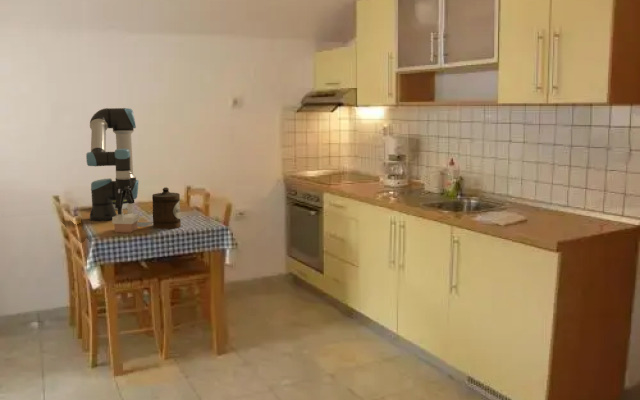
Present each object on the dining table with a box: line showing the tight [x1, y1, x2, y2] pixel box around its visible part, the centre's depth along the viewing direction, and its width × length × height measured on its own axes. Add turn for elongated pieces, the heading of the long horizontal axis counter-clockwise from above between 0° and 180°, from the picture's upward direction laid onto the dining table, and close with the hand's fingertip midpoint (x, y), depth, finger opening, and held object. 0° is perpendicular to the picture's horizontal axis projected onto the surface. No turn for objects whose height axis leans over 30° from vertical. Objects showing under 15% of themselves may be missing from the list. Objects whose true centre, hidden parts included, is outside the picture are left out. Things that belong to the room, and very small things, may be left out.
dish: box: [113, 221, 139, 234], centre depth 319 cm, size 9×9×5 cm
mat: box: [137, 221, 153, 228], centre depth 336 cm, size 12×12×1 cm
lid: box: [111, 213, 140, 225], centre depth 319 cm, size 10×10×4 cm
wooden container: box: [152, 186, 182, 230], centre depth 330 cm, size 15×15×22 cm
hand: (125, 217), depth 319 cm, fingers open, 13 cm apart
